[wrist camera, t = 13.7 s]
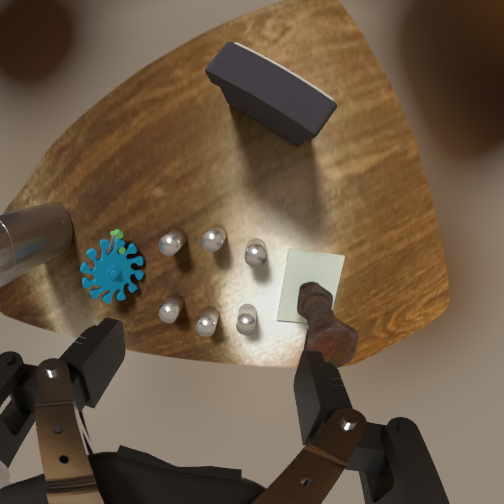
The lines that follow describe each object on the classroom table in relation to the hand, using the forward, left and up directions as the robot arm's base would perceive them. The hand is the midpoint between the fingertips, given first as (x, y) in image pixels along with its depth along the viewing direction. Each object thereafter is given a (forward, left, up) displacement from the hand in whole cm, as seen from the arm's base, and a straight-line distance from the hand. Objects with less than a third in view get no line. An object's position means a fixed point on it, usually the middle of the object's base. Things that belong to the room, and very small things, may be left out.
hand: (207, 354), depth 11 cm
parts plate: (+10, -7, -28) cm, 30 cm away
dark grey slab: (+1, +16, -28) cm, 32 cm away
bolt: (+10, -7, -27) cm, 30 cm away
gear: (-18, -7, -28) cm, 34 cm away
